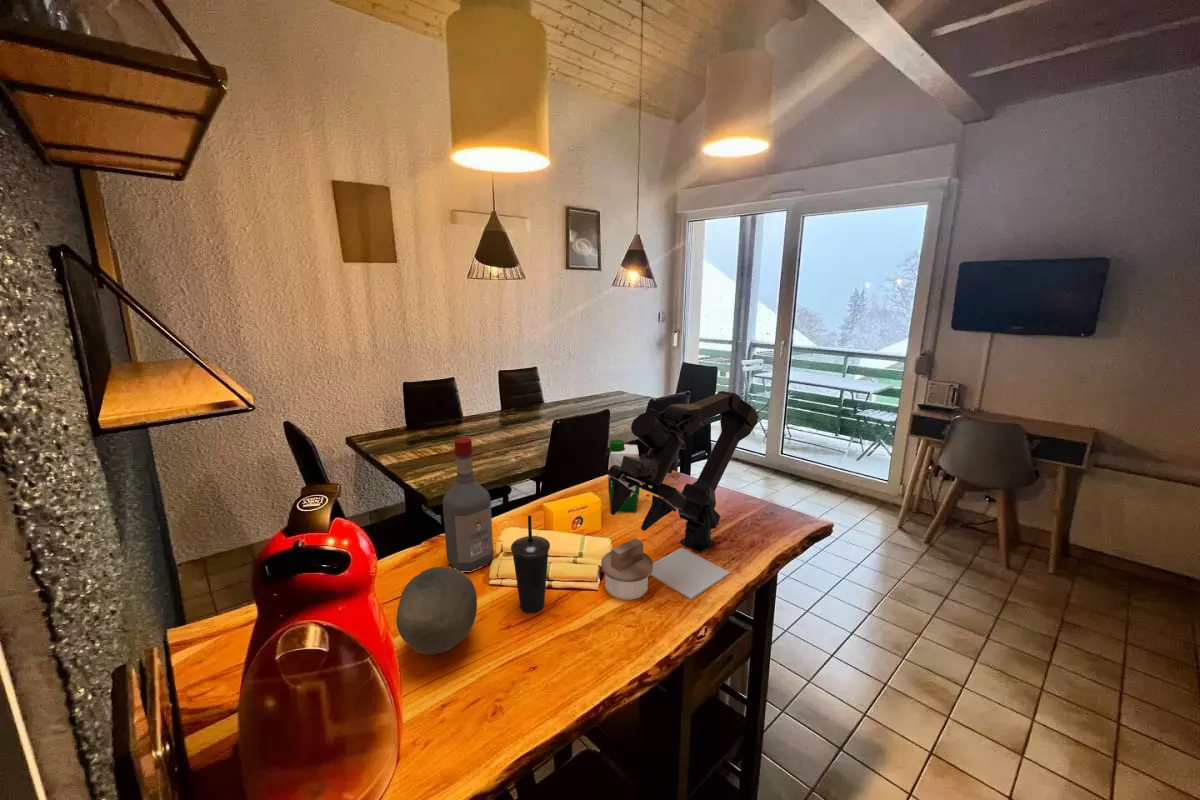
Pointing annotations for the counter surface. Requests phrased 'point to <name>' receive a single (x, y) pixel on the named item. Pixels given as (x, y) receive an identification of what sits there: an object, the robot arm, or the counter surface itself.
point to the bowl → (626, 588)
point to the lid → (627, 562)
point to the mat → (687, 572)
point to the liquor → (467, 515)
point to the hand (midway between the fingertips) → (626, 522)
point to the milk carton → (615, 458)
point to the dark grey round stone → (436, 610)
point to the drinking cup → (531, 569)
